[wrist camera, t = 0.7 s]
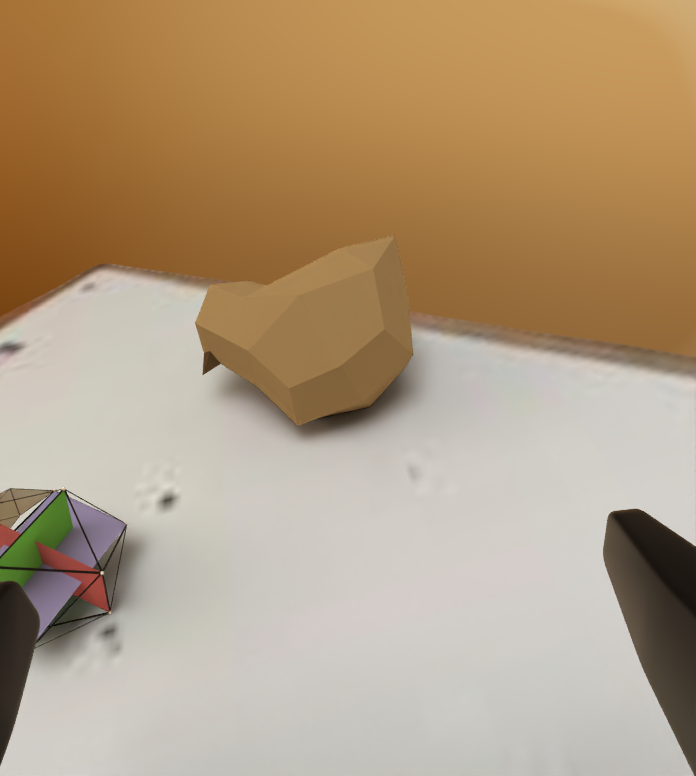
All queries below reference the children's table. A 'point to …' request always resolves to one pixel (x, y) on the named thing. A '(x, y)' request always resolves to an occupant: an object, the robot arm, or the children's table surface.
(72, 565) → the geometric puzzle
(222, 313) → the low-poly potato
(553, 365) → the children's table surface
